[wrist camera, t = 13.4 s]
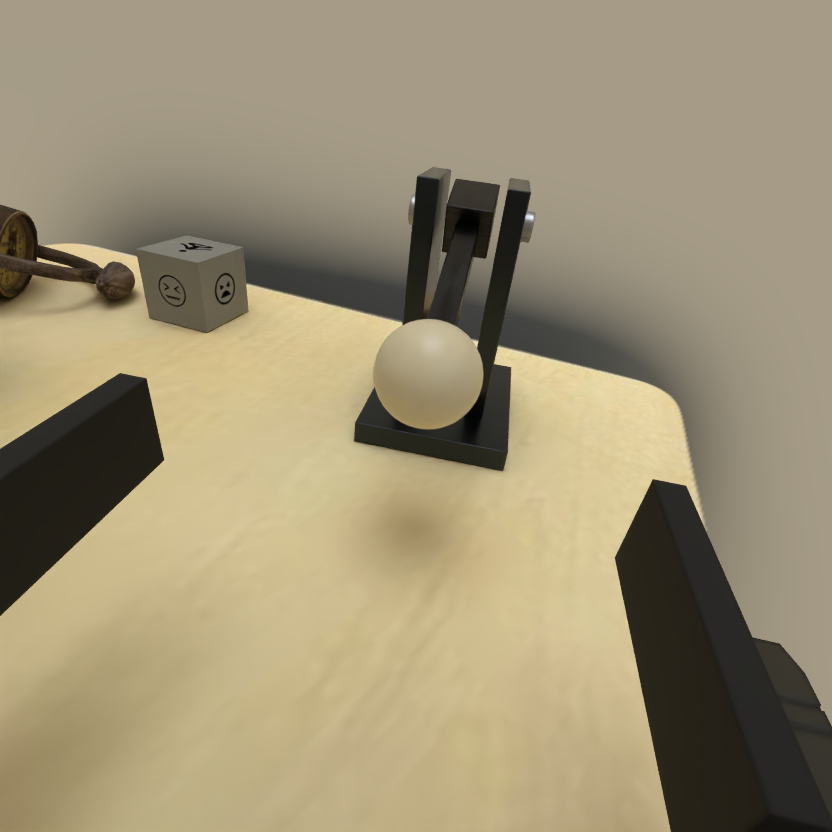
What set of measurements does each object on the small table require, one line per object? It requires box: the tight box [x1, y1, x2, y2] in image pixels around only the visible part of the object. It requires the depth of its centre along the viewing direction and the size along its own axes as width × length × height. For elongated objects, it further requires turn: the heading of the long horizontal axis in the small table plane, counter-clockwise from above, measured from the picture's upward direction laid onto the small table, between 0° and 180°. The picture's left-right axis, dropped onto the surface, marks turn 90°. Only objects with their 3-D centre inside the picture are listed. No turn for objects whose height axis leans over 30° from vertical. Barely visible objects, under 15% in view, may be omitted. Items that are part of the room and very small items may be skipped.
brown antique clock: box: [0, 205, 135, 299], centre depth 35 cm, size 7×13×10 cm
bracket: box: [354, 167, 535, 470], centre depth 26 cm, size 10×8×13 cm
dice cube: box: [136, 236, 248, 332], centre depth 36 cm, size 5×5×5 cm
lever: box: [373, 179, 500, 429], centre depth 20 cm, size 14×4×4 cm, turn 169°
